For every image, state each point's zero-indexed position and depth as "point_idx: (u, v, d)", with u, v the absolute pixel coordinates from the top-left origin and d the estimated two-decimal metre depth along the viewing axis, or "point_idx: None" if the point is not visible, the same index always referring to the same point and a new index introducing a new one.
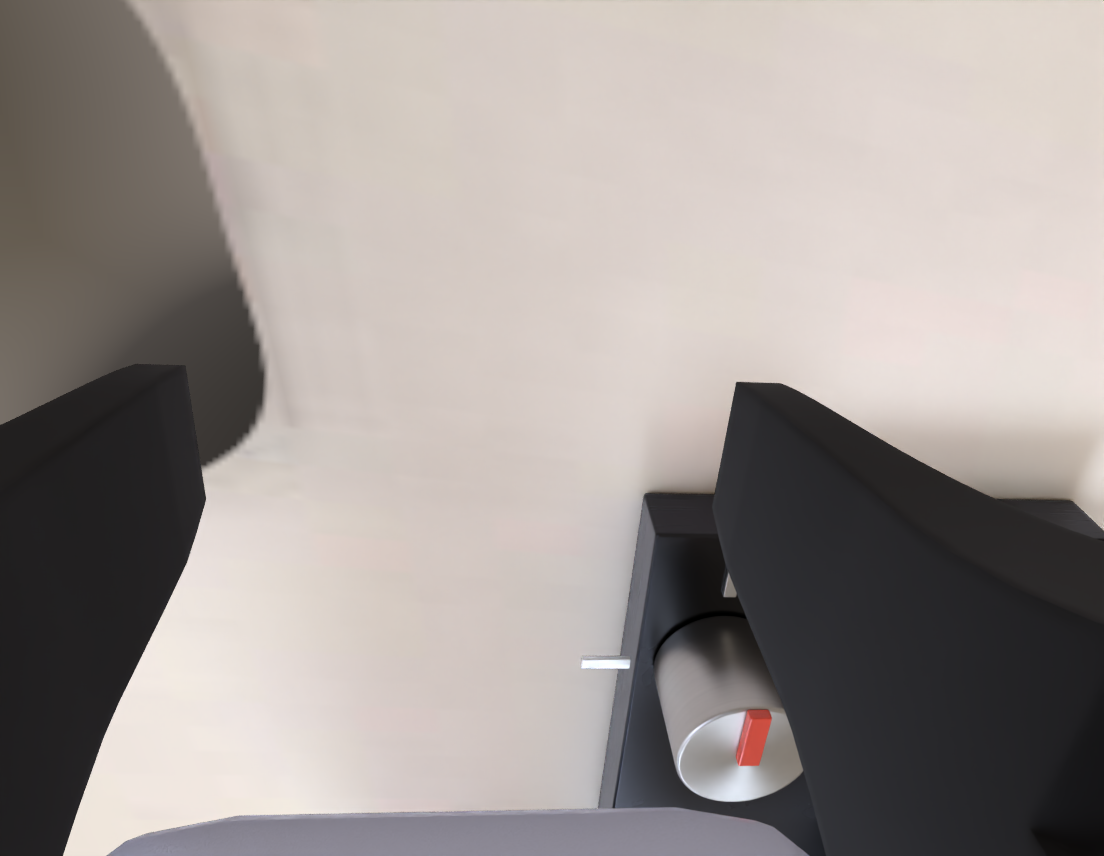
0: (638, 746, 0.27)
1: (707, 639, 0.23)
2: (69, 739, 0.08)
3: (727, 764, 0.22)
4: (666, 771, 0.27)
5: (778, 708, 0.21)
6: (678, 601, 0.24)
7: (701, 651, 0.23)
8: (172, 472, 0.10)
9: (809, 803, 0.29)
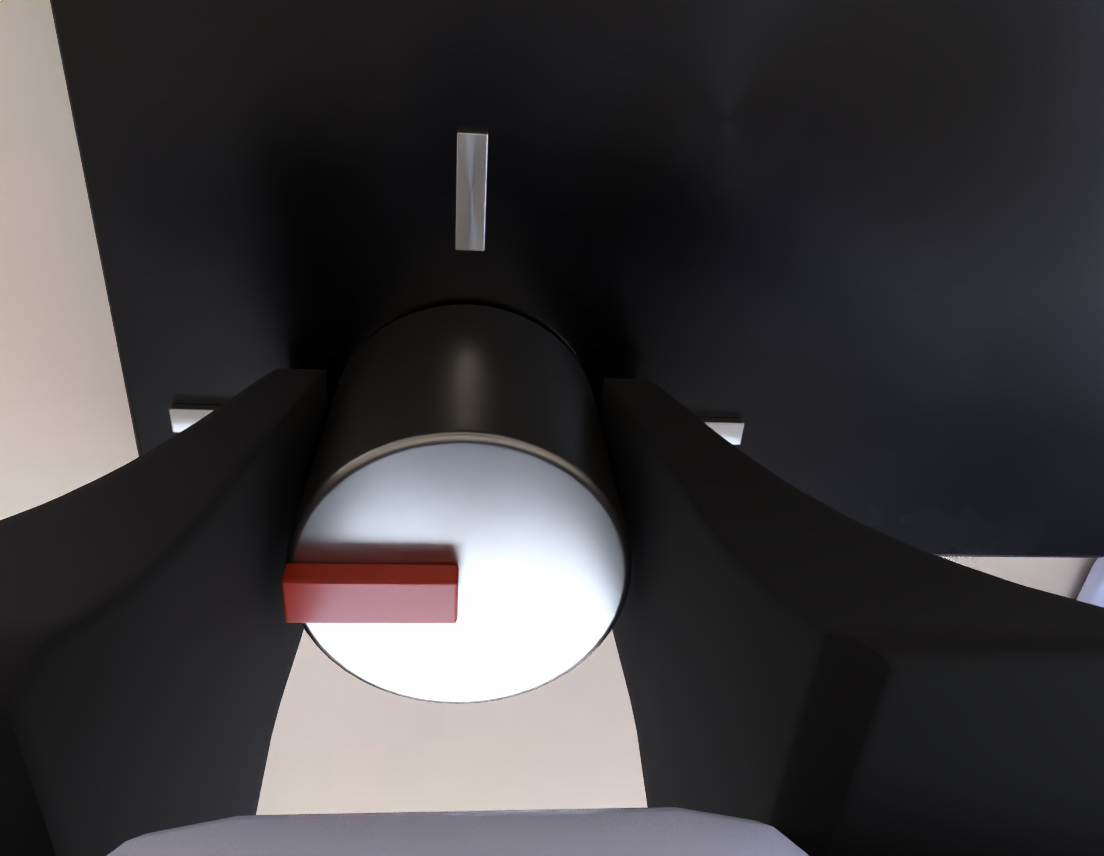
0: None
1: None
2: (253, 737, 0.08)
3: (483, 617, 0.09)
4: (791, 474, 0.13)
5: (291, 536, 0.09)
6: None
7: None
8: None
9: (1013, 123, 0.10)
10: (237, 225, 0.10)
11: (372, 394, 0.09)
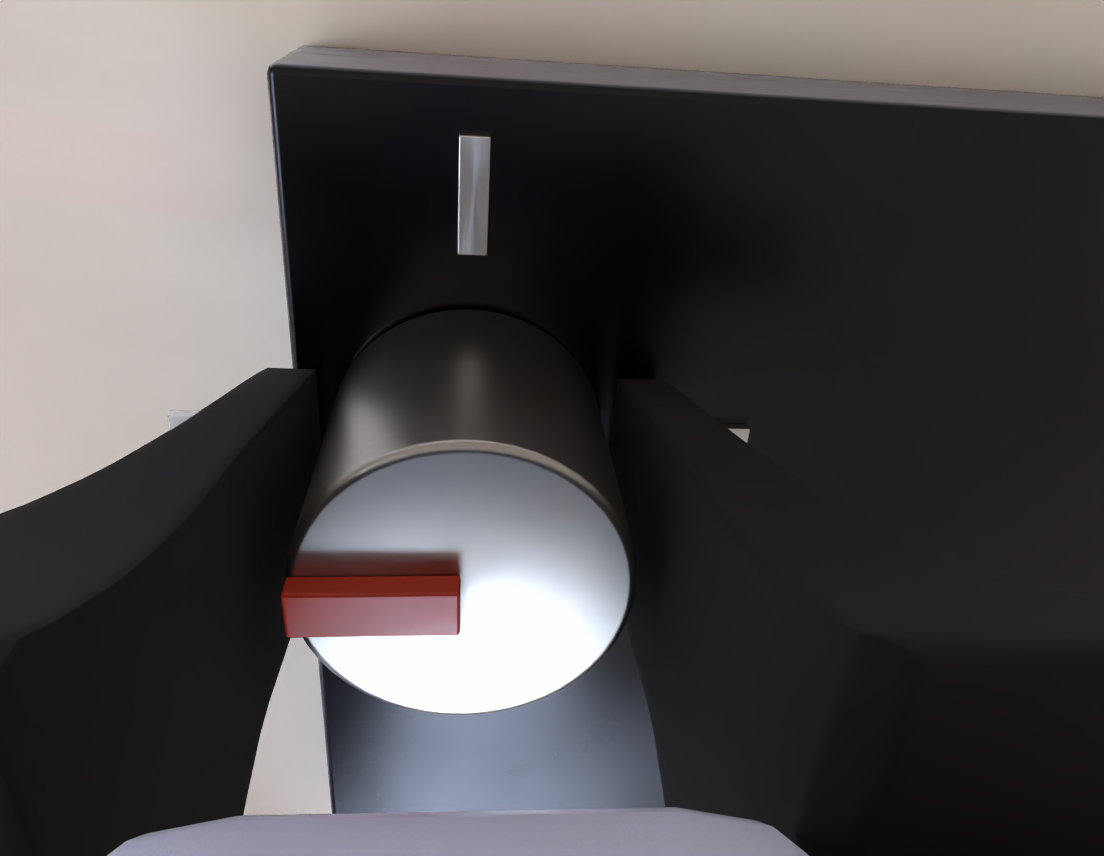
0: None
1: None
2: (240, 737, 0.08)
3: (486, 627, 0.09)
4: None
5: (289, 550, 0.08)
6: (360, 269, 0.11)
7: None
8: (307, 474, 0.10)
9: None
10: (686, 237, 0.11)
11: (370, 404, 0.09)
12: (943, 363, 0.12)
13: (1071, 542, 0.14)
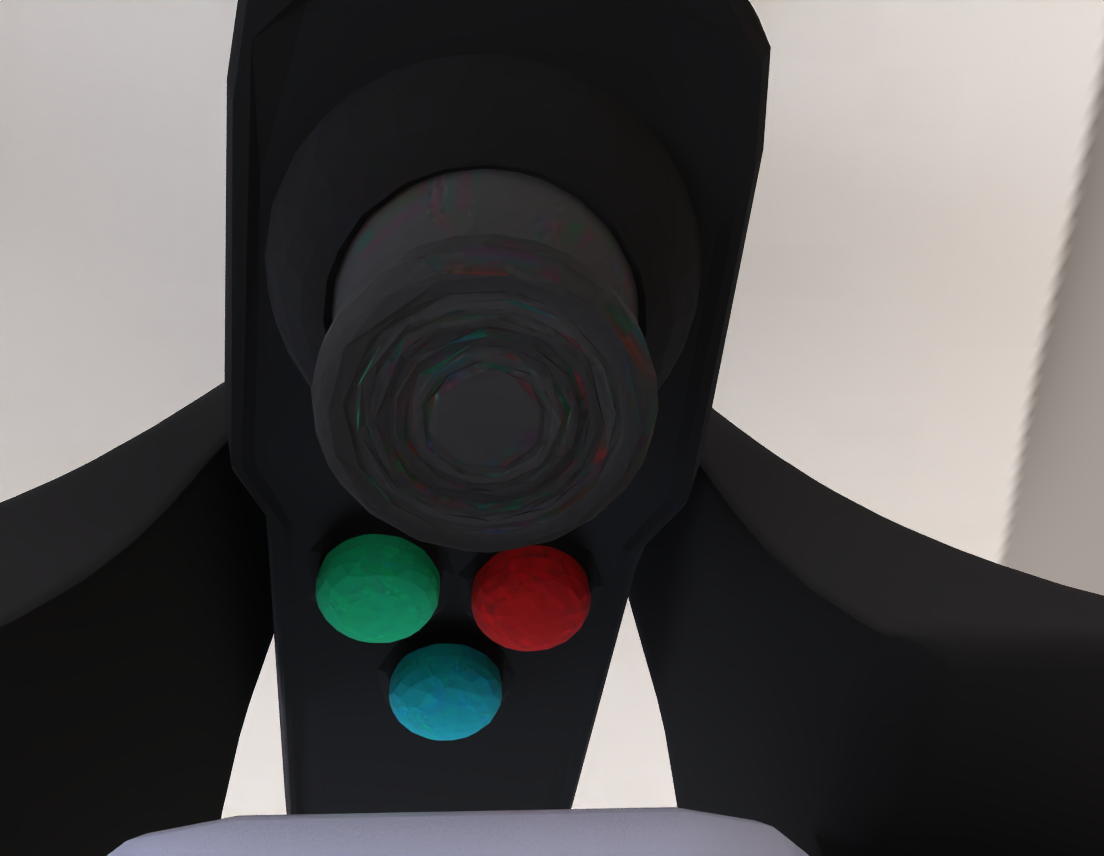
0: None
1: None
2: (218, 737, 0.08)
3: None
4: None
5: None
6: None
7: None
8: None
9: None
10: None
11: None
12: None
13: None
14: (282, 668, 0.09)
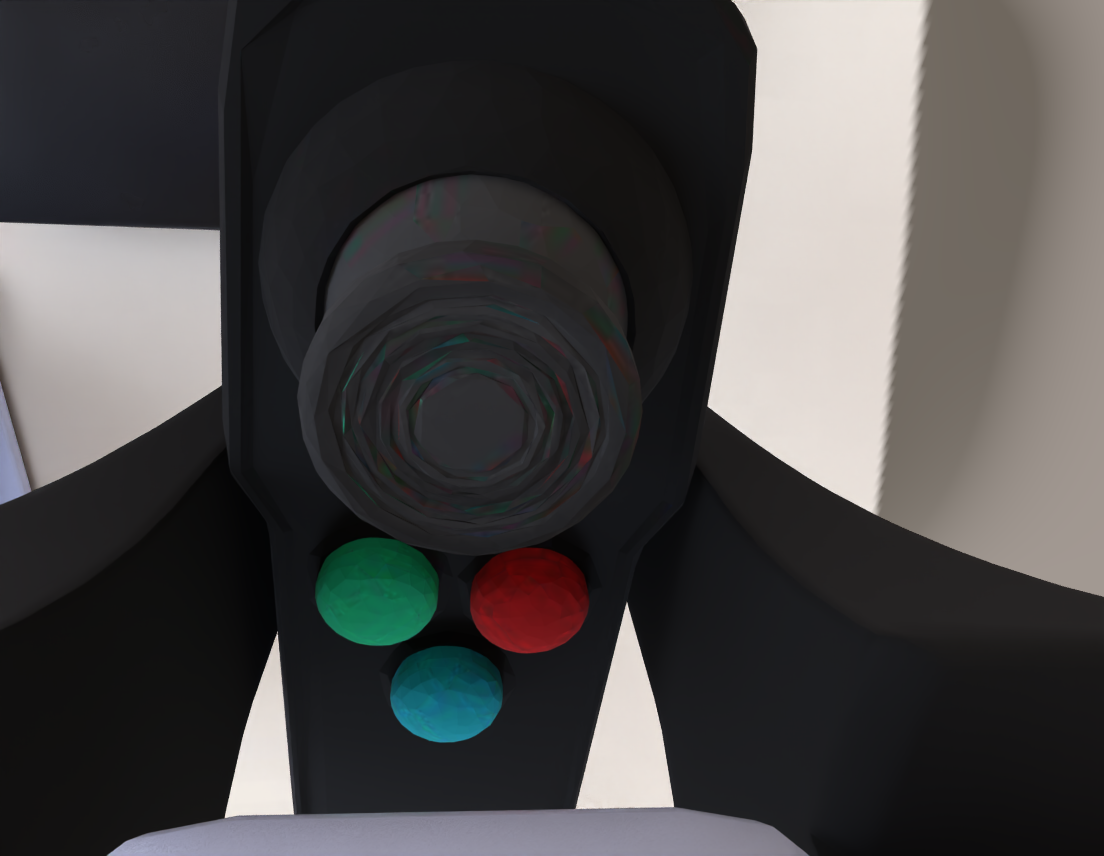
0: None
1: None
2: (222, 737, 0.08)
3: None
4: None
5: None
6: None
7: None
8: None
9: None
10: None
11: None
12: None
13: None
14: (284, 671, 0.09)
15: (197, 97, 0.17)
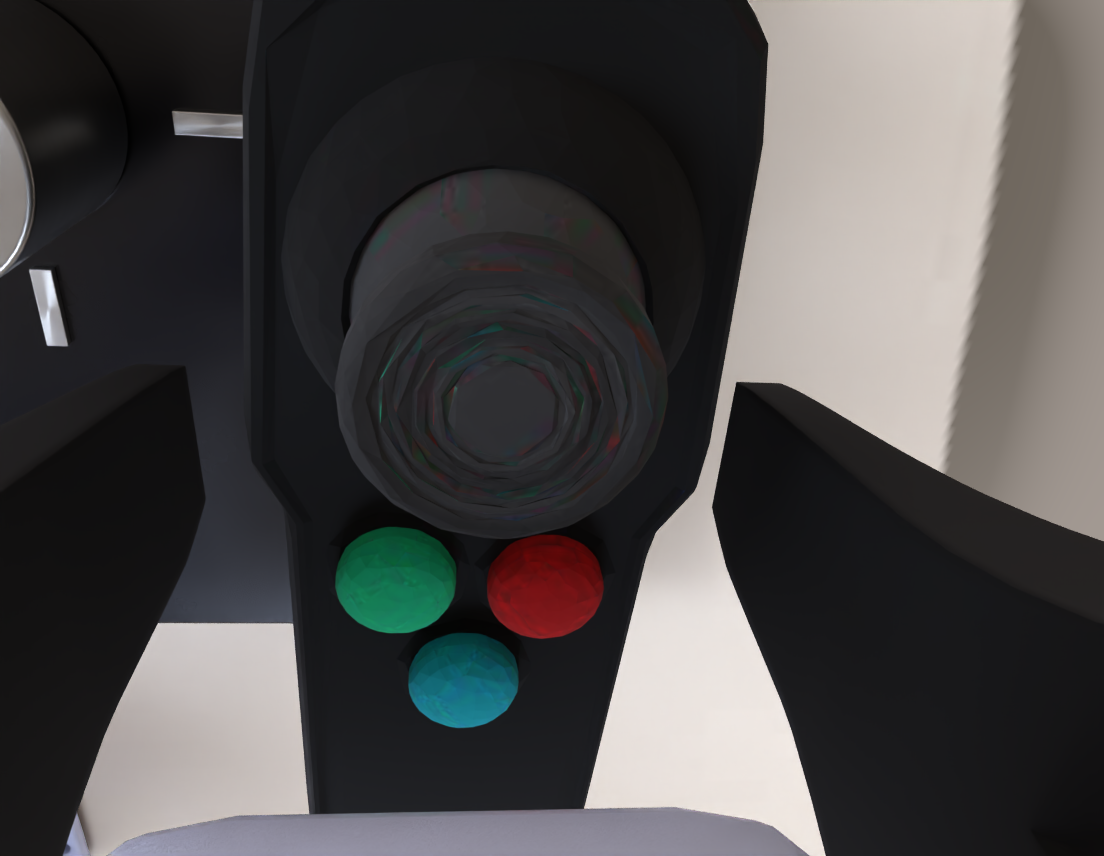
0: None
1: None
2: (69, 739, 0.08)
3: None
4: (28, 387, 0.16)
5: None
6: None
7: None
8: (172, 472, 0.10)
9: None
10: None
11: None
12: None
13: None
14: (304, 660, 0.09)
15: (253, 524, 0.17)
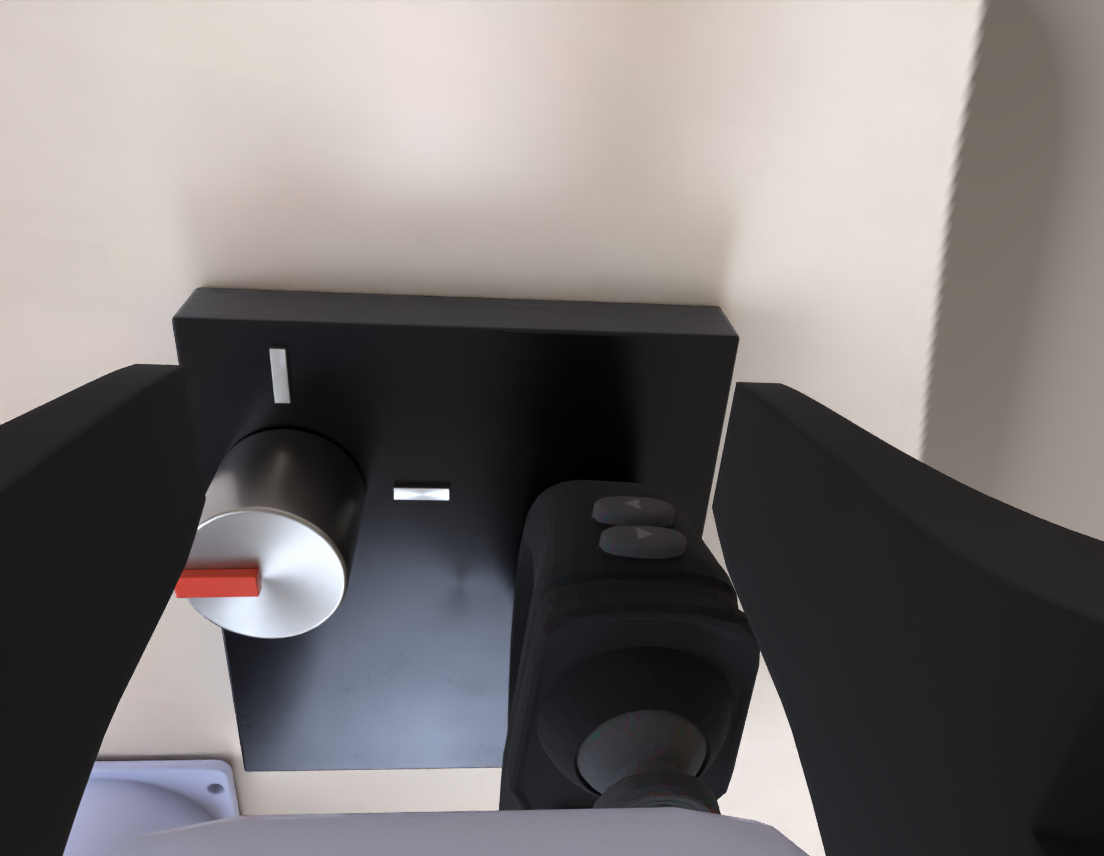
0: None
1: None
2: (69, 739, 0.08)
3: (275, 593, 0.19)
4: None
5: None
6: (225, 409, 0.20)
7: None
8: (172, 472, 0.10)
9: (463, 677, 0.25)
10: (397, 392, 0.20)
11: (220, 485, 0.19)
12: (554, 452, 0.22)
13: None
14: None
15: (414, 709, 0.26)
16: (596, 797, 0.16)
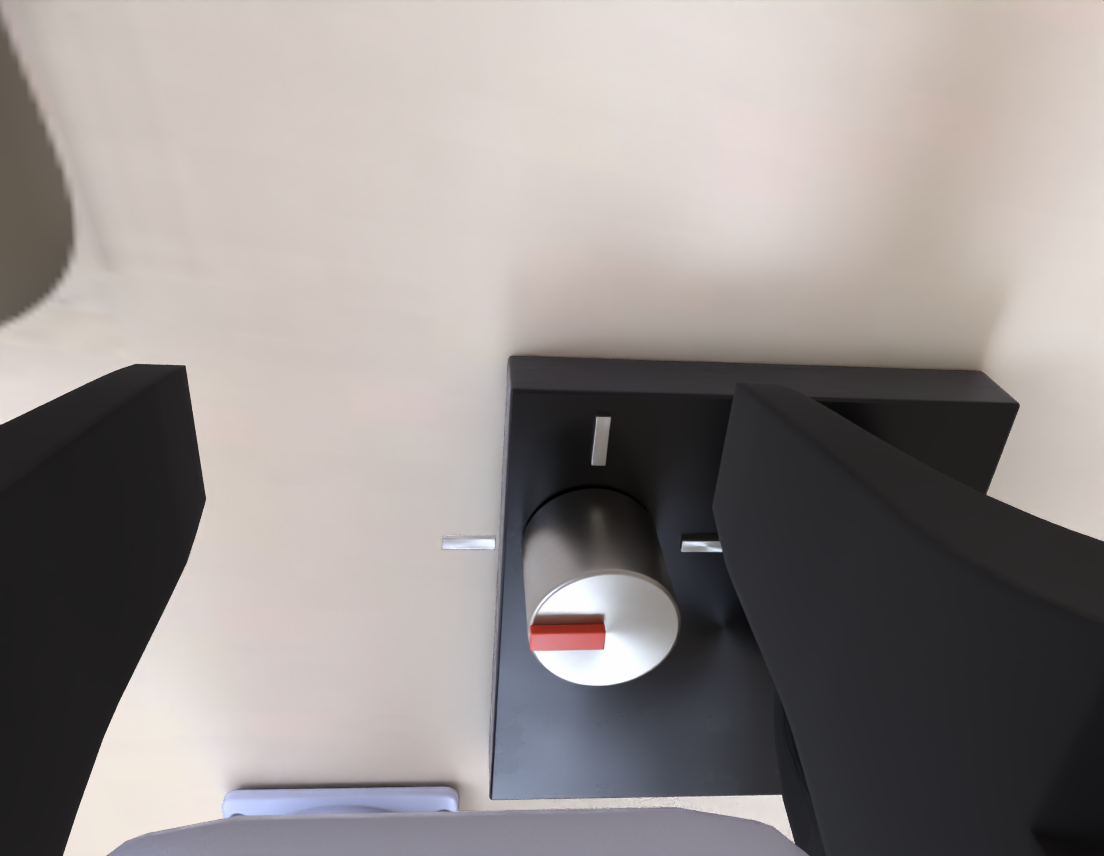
0: (515, 643, 0.25)
1: None
2: (69, 739, 0.08)
3: (613, 646, 0.20)
4: (548, 673, 0.25)
5: (532, 613, 0.20)
6: (543, 471, 0.22)
7: None
8: (172, 472, 0.10)
9: (709, 713, 0.27)
10: (701, 454, 0.22)
11: (560, 545, 0.20)
12: None
13: None
14: None
15: (658, 742, 0.27)
16: None
